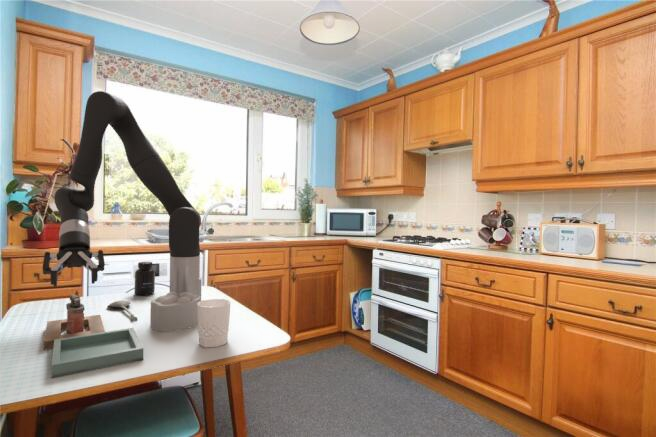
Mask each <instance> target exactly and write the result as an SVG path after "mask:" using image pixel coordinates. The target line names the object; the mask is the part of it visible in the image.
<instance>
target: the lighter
mask: <svg viewBox="0 0 656 437" xmlns="http://www.w3.org/2000/svg"><path fill="white" fill-rule="evenodd" d="M69 300H70V302H68V303H66V305H65V306H66V310H67V312H66V315H67V316H66V319H67V329H66V330H65V332H66V333H65V334H71V333H78V332H85V330H84V327H83V319H84V317H85V313H84V311H85V305H84V304H83V303H81V296H80V295H76V294H73V293H72V294H69Z"/></svg>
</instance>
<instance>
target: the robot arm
mask: <svg viewBox="0 0 656 437" xmlns="http://www.w3.org/2000/svg"><path fill="white" fill-rule="evenodd" d="M108 126H111V128H112V129H113V131H114V132H115V133H116V135H117V136H118V137H119V139H120V140H121V142H122V145H123V147H124V151H125V155H126V158H127V162H128V164H129V165H130V167H131V169H132V171H133V172H134V173H135V175H136V176H137V178H138V179H139V181H140V182H141V183H142V184H143V185H144V186H145V187H146V189H147V190H148V191H149V192H150V193H151V194H153V196H154V197H155V198H156V199H158V201H160V202H159V203H161V204H162V206H163V207H164V209H165V211H166V212H167V214H168V216H169V218H168V219H169V220H168V247H169V293H170V292H174V293H177V294H178V295H179V294H180V293H183V292H188V293H191V294H195V295H197V296H200V297H201V298H202V278H201V277H200V275H201V274H200V272H201V271H200V270H201V267H200V266H201V263H200V262H201V246H200V227H201V225H202V217H201V215H200V213H199V212H198V211H197V209H195V207H194V206H193V205H192V204H191V203H190V201H189V200H188V199H187V197H186V196H185V195H184V194H183V193H182V191H181V189H180V187H179V186H178V184H177V182H176V179H175V178H174V177H173V175H172V174H171V172H170V170H169V168H168V166H167V164H166V163H165V162H164V160H163V159H162V157H161V156H160V155H159V153H158V151H157V150H156V149H155V148H154V146H153V144H152V143H151V141H150V140H149V139H148V137H147V136H146V135H145V133H144V132H143V130H142V129H141V127H140V125H139V123H138V122H137V120H136V118H135V116H134V115H133V112H132V111H131V109H130V107H129V105H128V104H127V102H126V101H125V99H123V98H122V97H120V96H119V95H116V94H114V93H110V92H107V91H103V90H102V91H101V90H100V91H99V90H98V91H97V90H96V91H94V92H93V93H91V94H90V95H89V97H88V98H87V100H86V105H85V110H84V116H83V124H82V130H81V135H80V141H79V145H78V150H77V153H76V156H75V159H74V162H73V164H72V167H71V170H70V173H69V180H71V181H72V182H74V183H76V184H79V185H81V186H82V187H84V189H80V188H75V187H70V186H61V187H59V188H58V189H57V190H56V191H55V193H54V196H53V198H54V204H55V207H56V210H57V211H58V214H59V217H60V229H59V234H58V235H59V236H58V252H57V253H51V252H50V251H46V252H44V257H43V262H42V268H41V269H42V274H43V275H50V277H49V278H50V279H49V281H50V285H52V286H53V287H57V286H58V274H59V273H60V272H62V271H64V270H65V269H66V268H67V269H72V268H82V267H84V268H85V269H86V270H89V271H90V272H91V273H90V274H91V279H90V280H91V284H95V282H98V276H99V275H98V272H103V271H105V264H106V263H105V258H104V251H103V250H102V249H99V250H97V251H96V252H94V251H93V252H92V251H91V234H90V232H91V231H90V228H89V227H90V226H89V215H88V212H89V211H90V210H92V208H94V205H95V187H96V186H95V185H96V180H97V178H98V175H99V173H100V172H99V171H100V169H101V167H102V161H103V139H104V135H105V133H106V131H107V128H108ZM92 258H94V259H95V260H97V261H98V264H96V263H94V261H93V260H92ZM55 259H56V260H57V261H56V264H54V265H52V267H50V264H51V263H52V262H54V260H55Z"/></svg>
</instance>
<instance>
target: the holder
mask: <svg viewBox="0 0 656 437" xmlns="http://www.w3.org/2000/svg"><path fill="white" fill-rule="evenodd" d="M85 327H88V330H86V331H85V330H84V332H78V333H71V334H66V333H65V334H62V331H64V330H65V331H66V329H67V318H62V319H55V320H49V321H47V322H46V327H45V333H44V339H43V350H44V351H46V350H53V348H54V340H55V339H62V338H68V337H75V336H82V335H88V334H95V333H101V332H106V331H105V330H106V329H105V327H104V324H103V319H102V316H101V314H95V315H87V316H84V319H83V328H85Z"/></svg>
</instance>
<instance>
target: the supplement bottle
mask: <svg viewBox="0 0 656 437" xmlns="http://www.w3.org/2000/svg"><path fill="white" fill-rule="evenodd" d="M137 268H138V269H136V270H135V272H134V289H133V290H134V295H135V296H138V297H142V296H143V297H144V296H150V295H154V294H155V288H156V287H155V284H156V282H155V281H156V271H155V269H153V262H152V261H139V262H138V264H137Z"/></svg>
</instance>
